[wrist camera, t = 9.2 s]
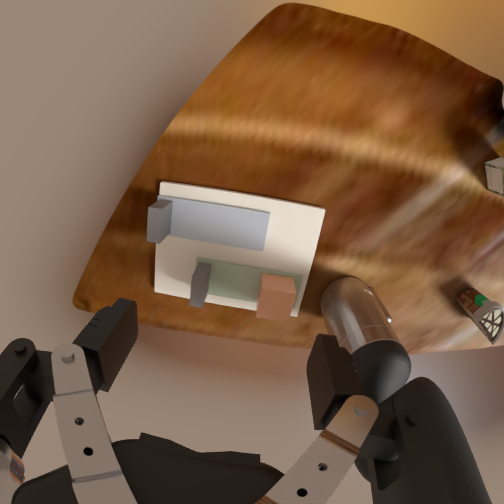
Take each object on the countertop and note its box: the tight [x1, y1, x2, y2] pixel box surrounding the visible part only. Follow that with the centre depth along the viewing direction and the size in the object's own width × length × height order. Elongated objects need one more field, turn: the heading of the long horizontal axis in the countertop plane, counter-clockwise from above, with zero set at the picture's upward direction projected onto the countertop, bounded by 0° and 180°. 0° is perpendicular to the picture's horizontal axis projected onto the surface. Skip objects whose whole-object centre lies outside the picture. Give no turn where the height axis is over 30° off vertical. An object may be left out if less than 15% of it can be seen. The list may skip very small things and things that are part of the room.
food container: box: [456, 288, 504, 345], centre depth 43 cm, size 12×6×10 cm, turn 51°
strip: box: [147, 195, 270, 252], centre depth 41 cm, size 17×6×6 cm, turn 80°
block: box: [256, 273, 296, 322], centre depth 44 cm, size 5×5×5 cm
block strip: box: [190, 257, 303, 308], centre depth 44 cm, size 17×6×6 cm, turn 80°
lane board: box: [155, 181, 325, 317], centre depth 46 cm, size 25×19×1 cm
